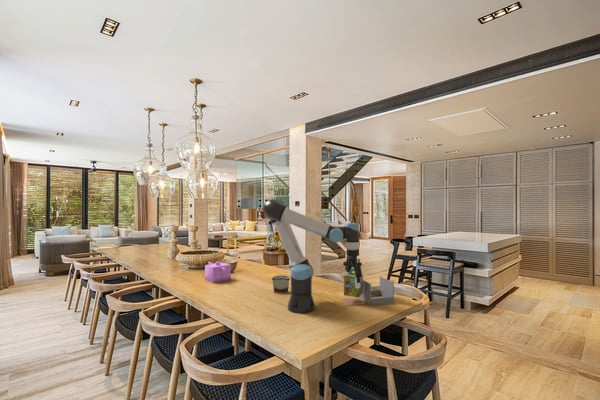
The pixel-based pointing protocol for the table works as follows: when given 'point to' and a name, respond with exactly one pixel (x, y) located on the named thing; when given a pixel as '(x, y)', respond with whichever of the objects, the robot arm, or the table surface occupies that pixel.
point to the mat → (353, 301)
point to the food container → (280, 284)
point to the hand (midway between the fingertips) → (353, 285)
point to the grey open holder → (378, 292)
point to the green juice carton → (352, 285)
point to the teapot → (217, 272)
